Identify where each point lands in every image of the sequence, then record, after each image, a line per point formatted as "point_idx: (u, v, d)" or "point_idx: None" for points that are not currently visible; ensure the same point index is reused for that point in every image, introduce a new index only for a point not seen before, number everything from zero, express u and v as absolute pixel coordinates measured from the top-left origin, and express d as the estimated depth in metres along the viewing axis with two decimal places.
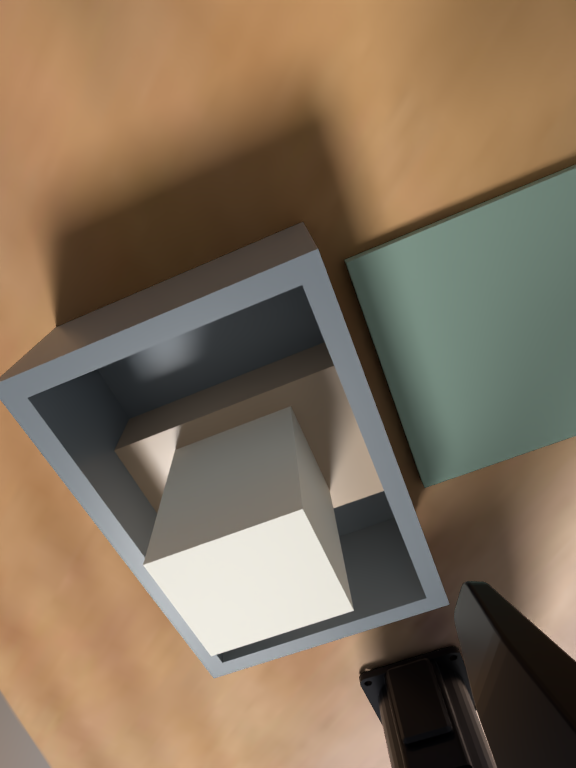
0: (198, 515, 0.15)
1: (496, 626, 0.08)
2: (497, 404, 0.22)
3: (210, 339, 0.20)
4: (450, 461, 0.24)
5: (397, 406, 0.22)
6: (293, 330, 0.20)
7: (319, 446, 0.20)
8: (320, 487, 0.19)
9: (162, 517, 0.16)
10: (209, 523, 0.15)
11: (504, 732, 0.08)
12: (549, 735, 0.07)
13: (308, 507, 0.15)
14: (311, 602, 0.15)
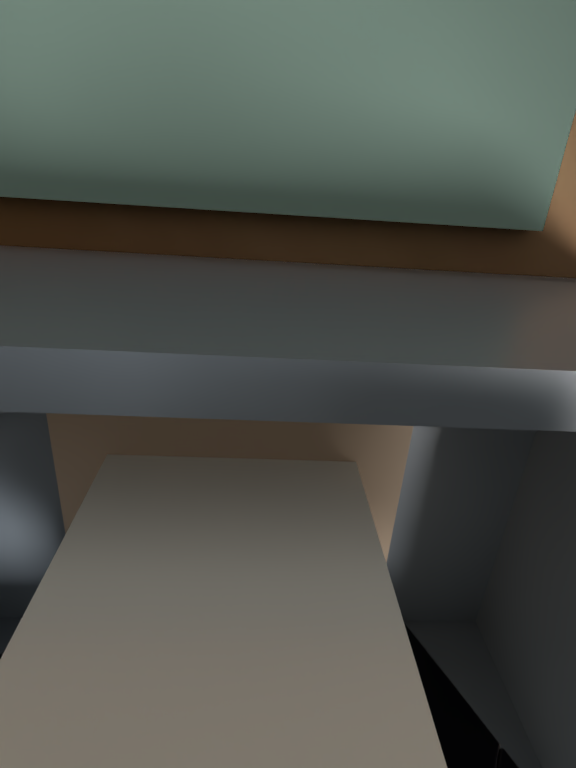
0: None
1: None
2: None
3: (21, 473, 0.12)
4: (514, 139, 0.09)
5: (297, 212, 0.10)
6: None
7: (232, 440, 0.09)
8: (260, 527, 0.07)
9: None
10: None
11: None
12: None
13: None
14: None
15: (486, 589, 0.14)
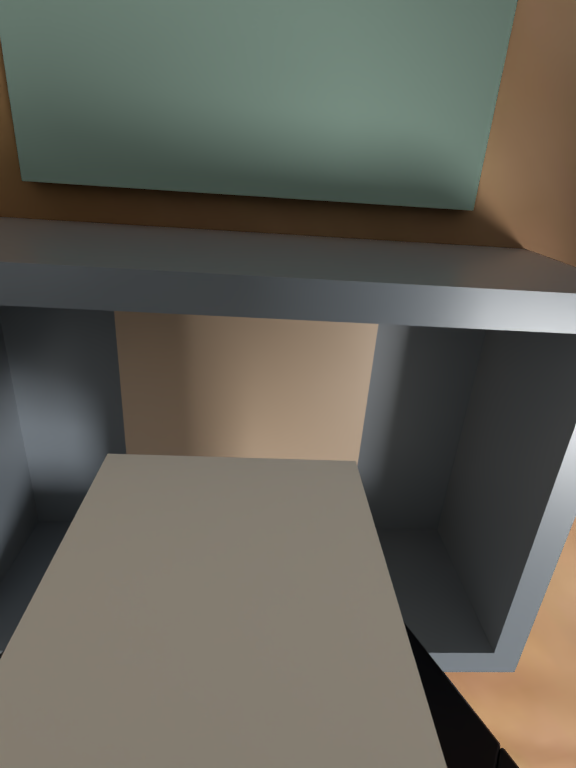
0: None
1: None
2: (379, 6, 0.11)
3: (81, 399, 0.15)
4: (448, 143, 0.13)
5: (292, 196, 0.13)
6: None
7: (246, 356, 0.12)
8: (259, 526, 0.07)
9: None
10: None
11: None
12: None
13: None
14: None
15: (444, 501, 0.18)
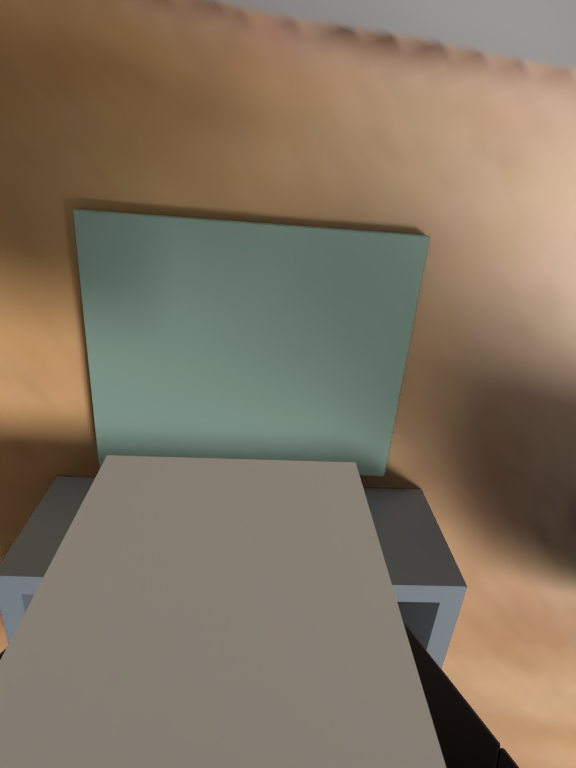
0: None
1: None
2: (319, 381, 0.19)
3: None
4: (365, 443, 0.20)
5: None
6: None
7: None
8: (259, 528, 0.07)
9: None
10: None
11: None
12: None
13: None
14: None
15: None
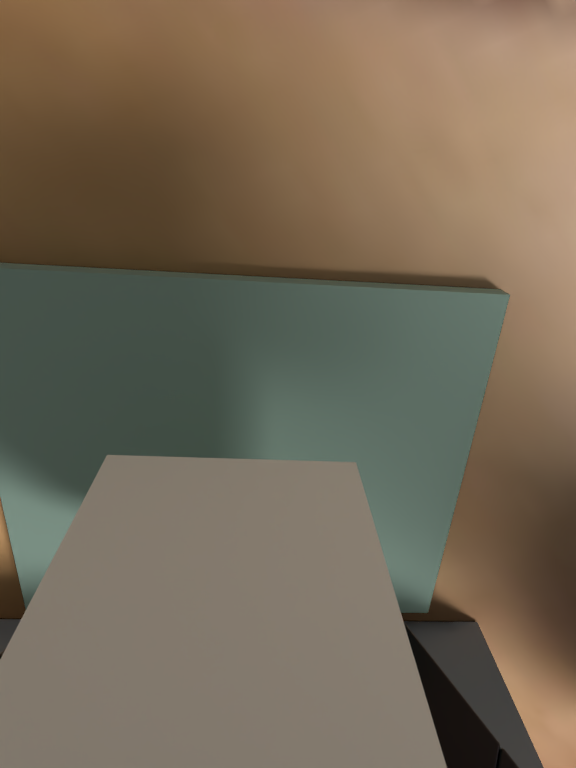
0: None
1: None
2: None
3: None
4: (403, 574, 0.14)
5: None
6: None
7: None
8: (259, 528, 0.07)
9: None
10: None
11: None
12: None
13: None
14: None
15: None
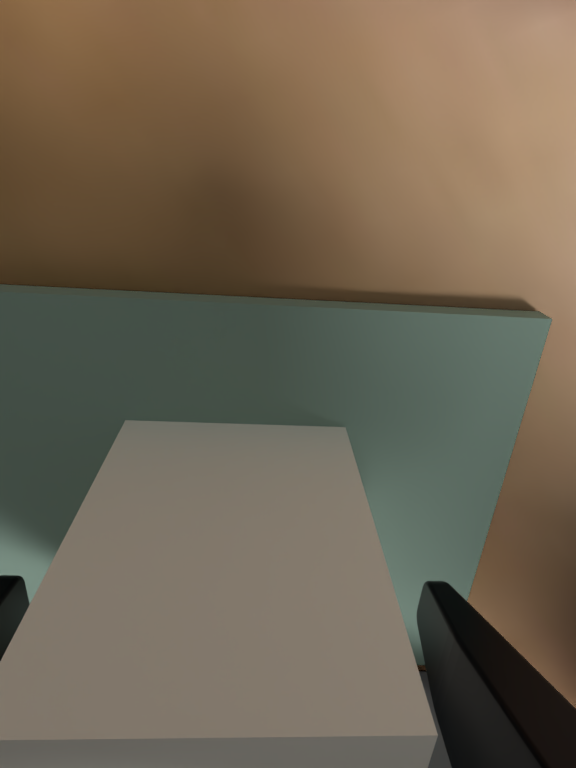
0: None
1: (451, 626, 0.08)
2: None
3: None
4: None
5: None
6: None
7: None
8: (260, 476, 0.08)
9: None
10: None
11: (458, 732, 0.08)
12: (496, 735, 0.07)
13: (57, 665, 0.05)
14: None
15: None
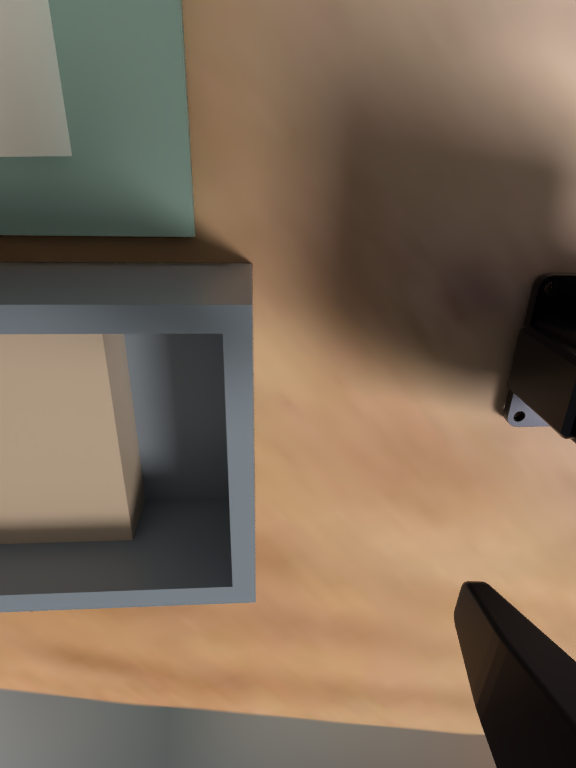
0: None
1: (496, 626, 0.08)
2: (77, 89, 0.15)
3: None
4: (159, 187, 0.16)
5: (45, 233, 0.17)
6: None
7: (4, 362, 0.16)
8: None
9: None
10: None
11: (504, 732, 0.08)
12: (549, 735, 0.07)
13: None
14: None
15: None
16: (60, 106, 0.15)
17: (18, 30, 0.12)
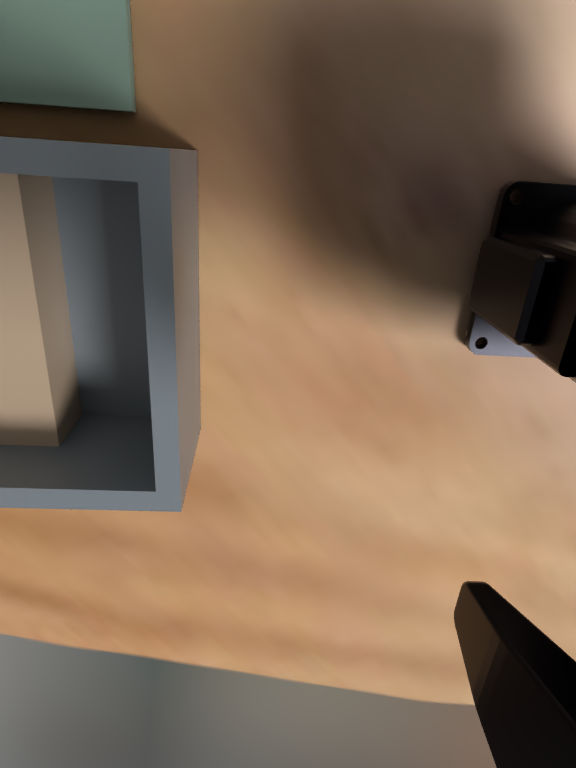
0: None
1: (496, 626, 0.08)
2: None
3: None
4: (95, 50, 0.15)
5: None
6: None
7: None
8: None
9: None
10: None
11: (504, 732, 0.08)
12: (549, 735, 0.07)
13: None
14: None
15: None
16: None
17: None
